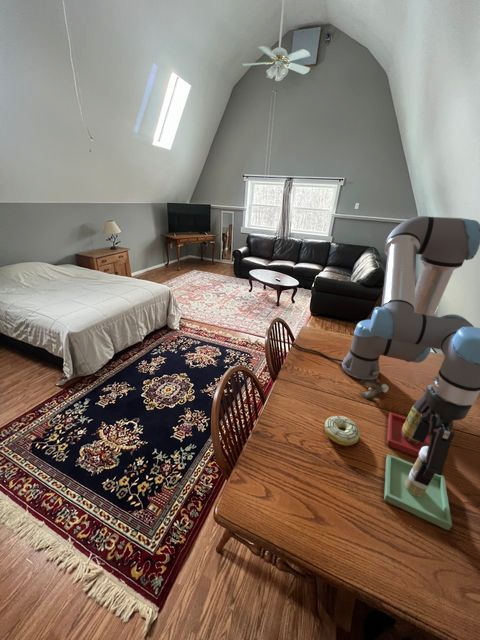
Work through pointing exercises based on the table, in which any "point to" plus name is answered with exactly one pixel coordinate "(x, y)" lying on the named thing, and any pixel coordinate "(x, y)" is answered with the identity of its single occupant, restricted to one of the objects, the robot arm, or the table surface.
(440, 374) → the robot arm
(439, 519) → the green tray
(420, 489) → the sprinkles bottle
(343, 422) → the decorated donut
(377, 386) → the eagle figurine
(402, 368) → the table surface
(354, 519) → the table surface
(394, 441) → the red tray
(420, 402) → the sauce bottle
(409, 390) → the table surface
